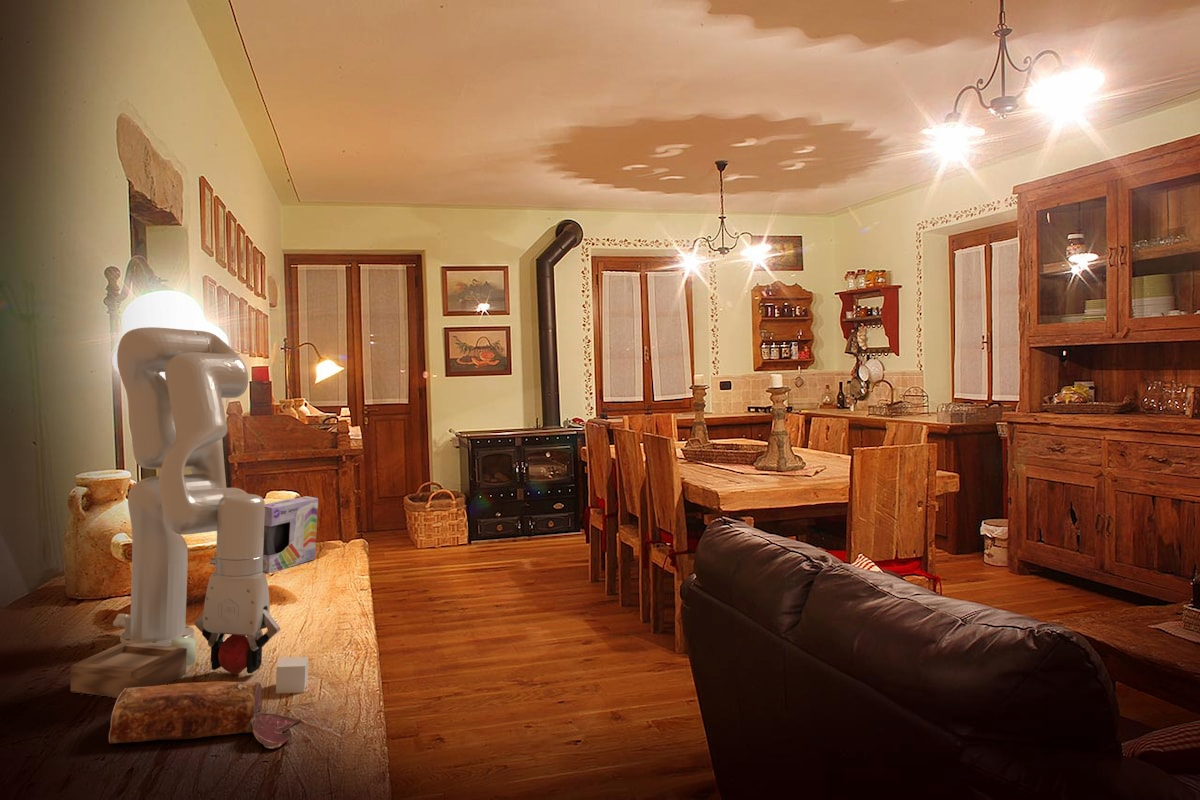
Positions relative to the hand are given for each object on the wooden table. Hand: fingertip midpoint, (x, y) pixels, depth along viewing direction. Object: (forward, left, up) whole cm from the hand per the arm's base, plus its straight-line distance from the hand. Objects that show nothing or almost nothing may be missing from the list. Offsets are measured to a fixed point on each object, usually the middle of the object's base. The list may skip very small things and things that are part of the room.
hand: (235, 668), depth 146 cm
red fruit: (0, 0, -1) cm, 1 cm away
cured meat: (+9, -21, -2) cm, 23 cm away
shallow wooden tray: (-14, -8, -1) cm, 16 cm away
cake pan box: (-31, +75, -1) cm, 81 cm away
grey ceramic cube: (+12, -3, -1) cm, 12 cm away
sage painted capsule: (-12, +3, -1) cm, 12 cm away
